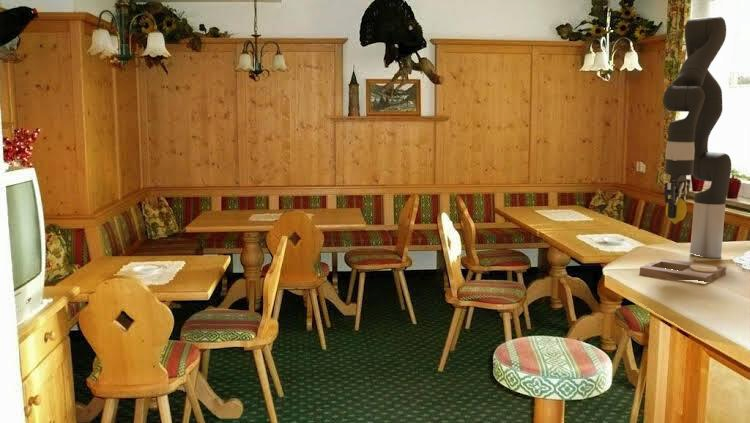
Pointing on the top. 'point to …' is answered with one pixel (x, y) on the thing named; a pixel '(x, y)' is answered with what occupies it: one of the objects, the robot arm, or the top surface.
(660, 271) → the pocket board
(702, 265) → the saucer
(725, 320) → the top surface
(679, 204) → the lemon
